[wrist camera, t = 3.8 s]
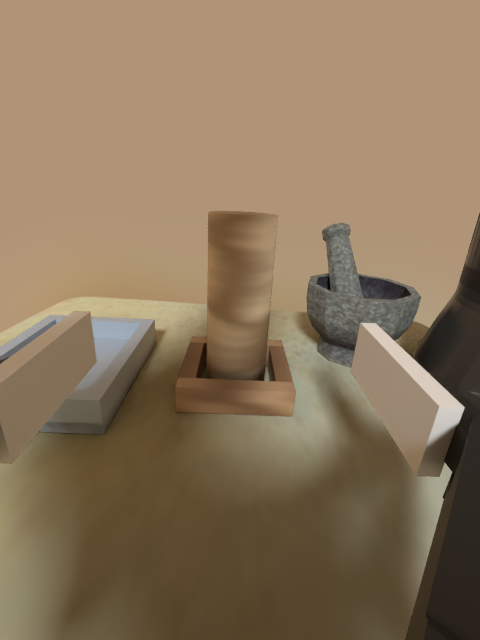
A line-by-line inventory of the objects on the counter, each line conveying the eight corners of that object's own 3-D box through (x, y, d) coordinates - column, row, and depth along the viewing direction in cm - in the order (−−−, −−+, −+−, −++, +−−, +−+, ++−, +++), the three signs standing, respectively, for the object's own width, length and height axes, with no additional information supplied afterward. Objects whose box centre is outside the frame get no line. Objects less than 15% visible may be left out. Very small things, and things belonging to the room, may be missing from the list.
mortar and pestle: (425, 370, 29) (465, 235, 25) (339, 386, 26) (367, 235, 22) (347, 324, 39) (366, 221, 35) (278, 331, 36) (289, 220, 32)
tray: (155, 342, 32) (154, 319, 31) (104, 434, 20) (99, 400, 19) (54, 338, 32) (50, 315, 31) (-60, 427, 20) (-73, 393, 19)
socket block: (279, 359, 30) (281, 340, 29) (292, 416, 22) (295, 391, 22) (192, 356, 30) (192, 336, 29) (175, 411, 22) (174, 387, 21)
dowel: (261, 368, 28) (274, 213, 23) (265, 400, 24) (282, 217, 19) (209, 366, 28) (211, 210, 23) (203, 397, 24) (204, 214, 19)
